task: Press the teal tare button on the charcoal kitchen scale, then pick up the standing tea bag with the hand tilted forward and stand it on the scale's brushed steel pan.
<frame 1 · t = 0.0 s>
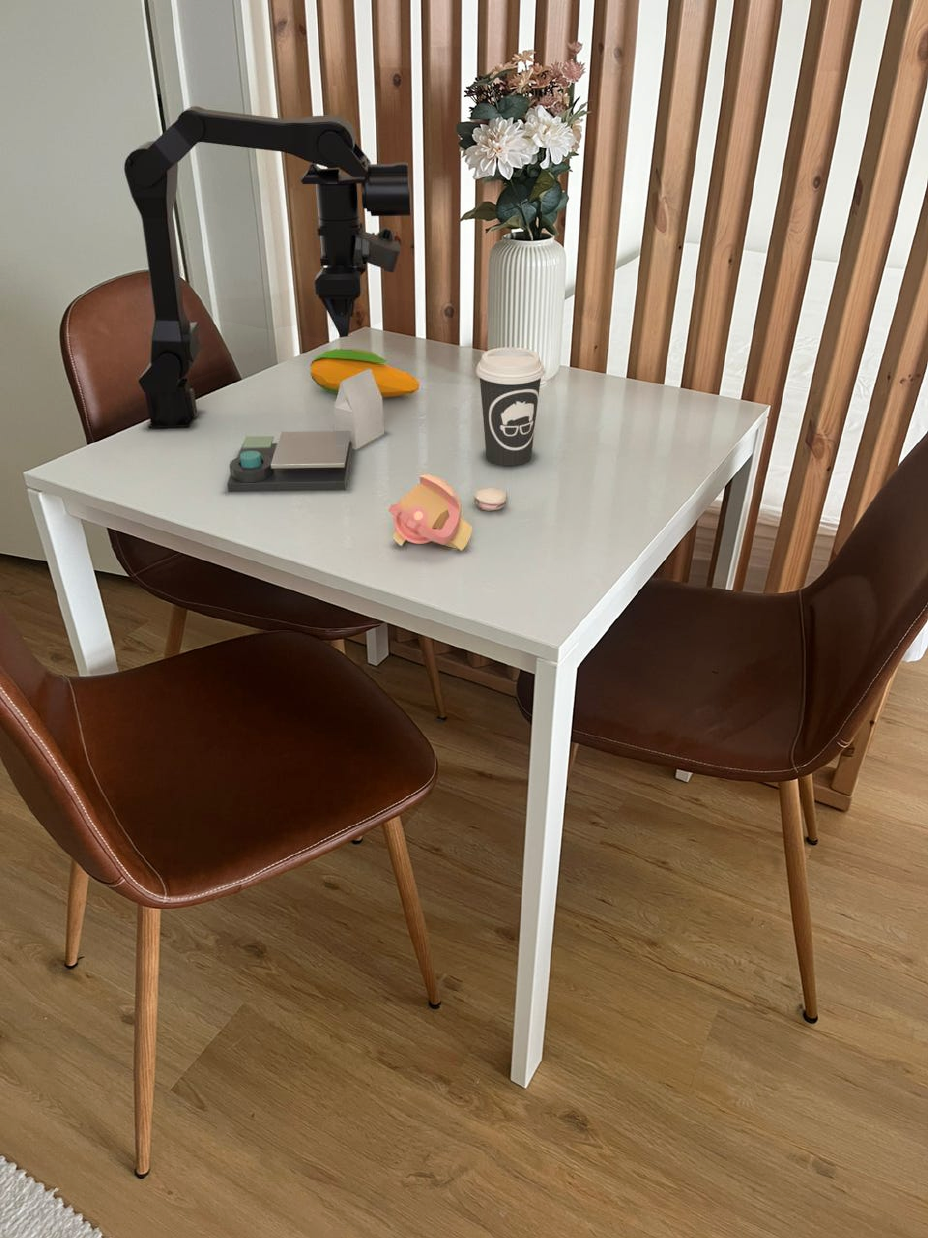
hand: (346, 326, 150), 15 cm above the table, tool pointing down, fingers open, 9 cm apart
scale: (292, 470, 143), on the table
mat: (348, 371, 176), on the table
tea bag: (360, 440, 152), on the table
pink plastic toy: (432, 545, 125), on the table
macaroon: (492, 507, 134), on the table
coffee cup: (508, 458, 146), on the table
scale pan: (311, 451, 141), resting on scale
scale display: (258, 442, 144), resting on scale
corn: (367, 397, 166), on the table
tare button: (250, 459, 138), point 3 cm above the table, slide at 0.1 cm
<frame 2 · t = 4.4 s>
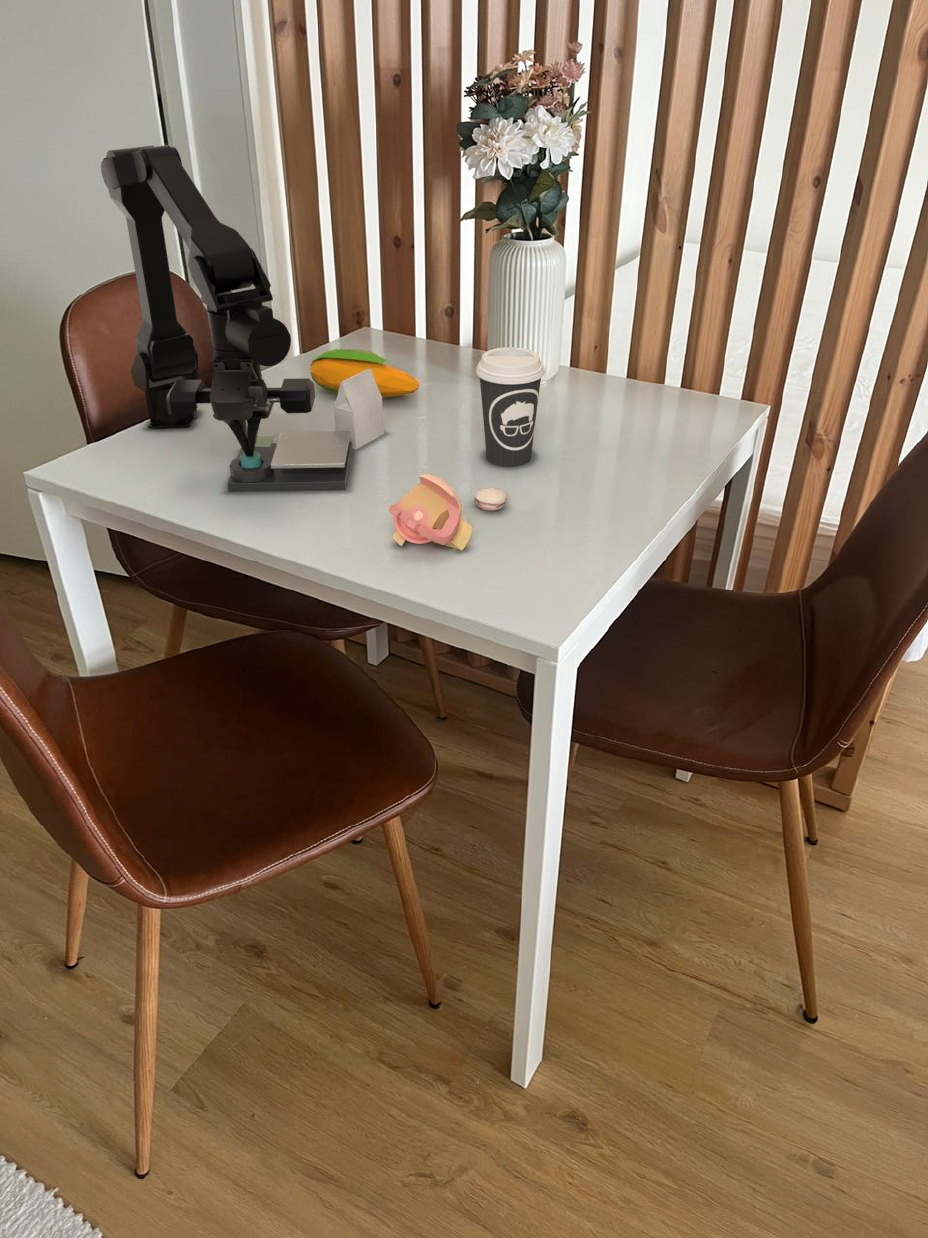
hand: (250, 455, 138), 4 cm above the table, tool pointing down, fingers closed, pressing on tare button
tare button: (250, 460, 138), point 3 cm above the table, slide at 0.0 cm, touching gripper
everything else where it was.
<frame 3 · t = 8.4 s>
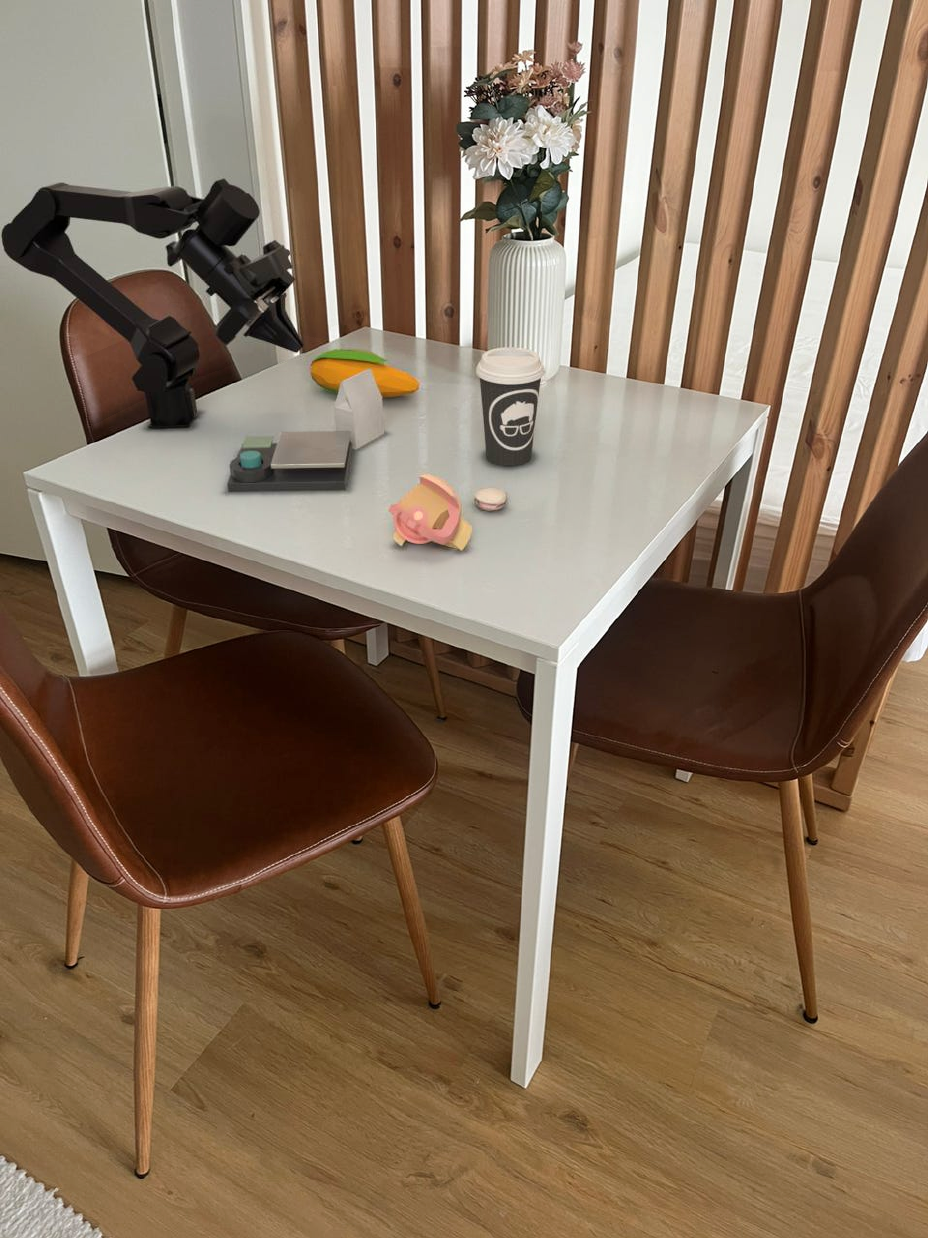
hand: (300, 349, 145), 13 cm above the table, tool tilted 45°, fingers closed
tare button: (250, 459, 138), point 3 cm above the table, slide at 0.1 cm
everything else where it was.
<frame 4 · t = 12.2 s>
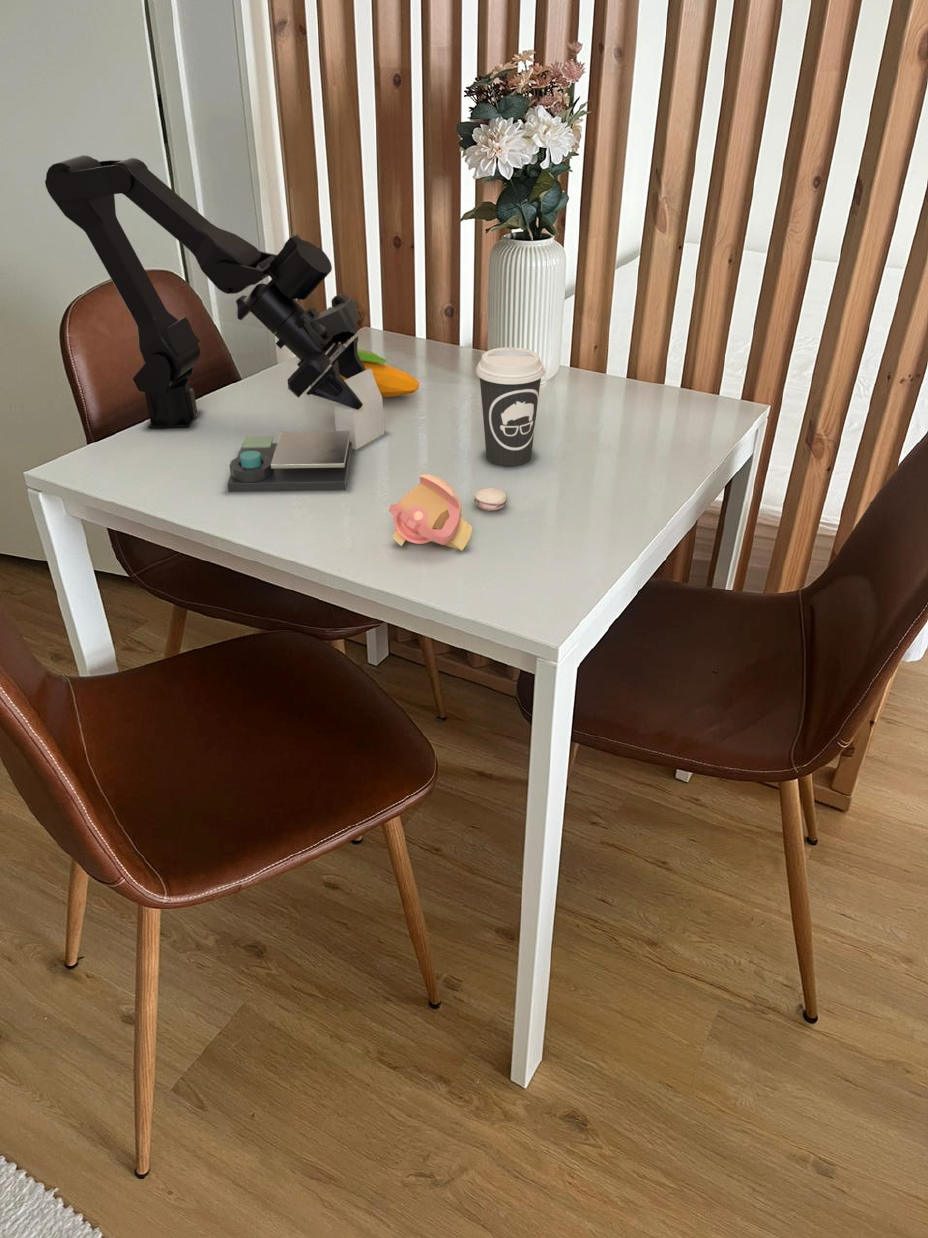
hand: (367, 398, 148), 7 cm above the table, tool tilted 45°, fingers closed on tea bag, 7 cm apart
tea bag: (360, 440, 152), on the table, touching gripper
everything else where it was.
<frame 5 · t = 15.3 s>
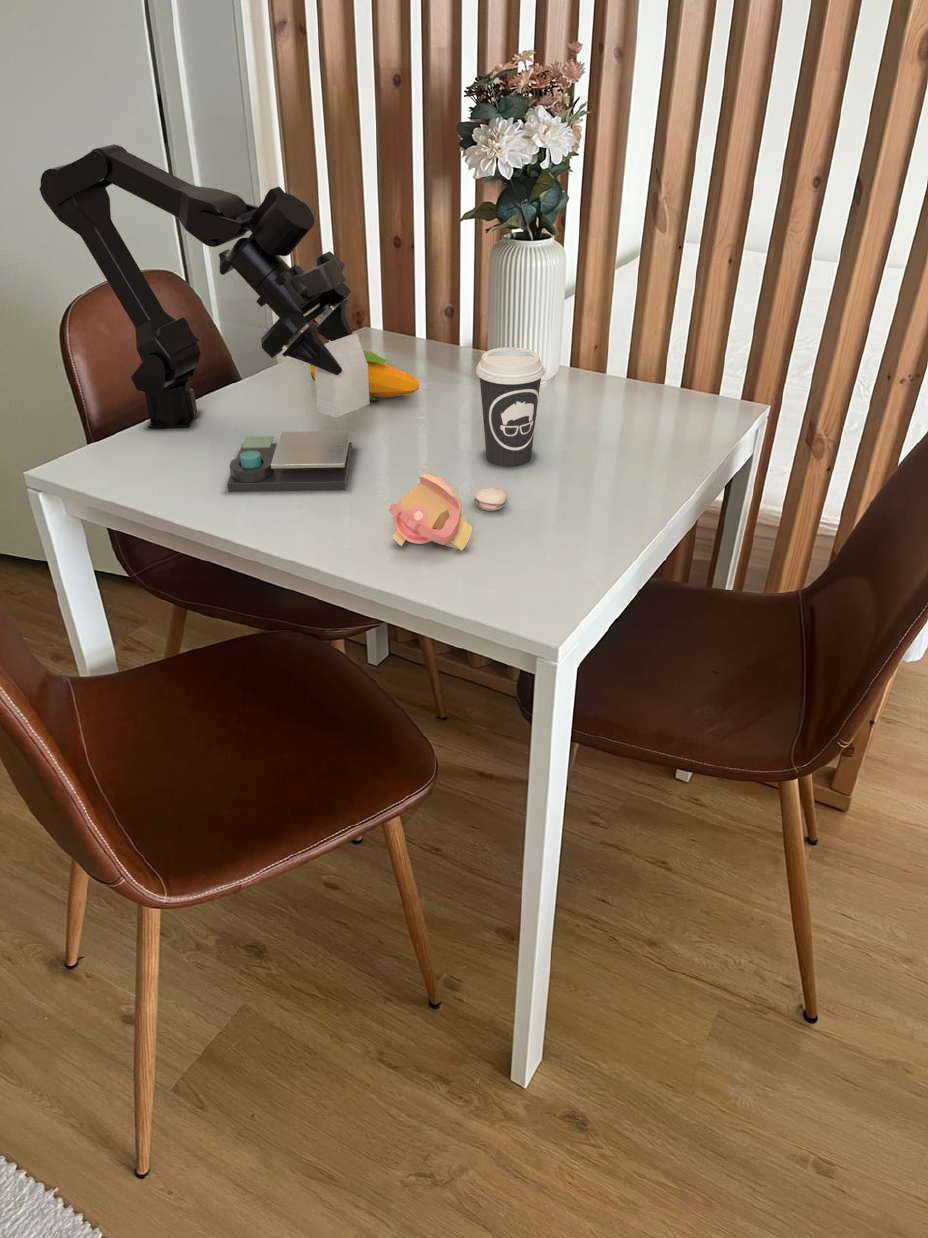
hand: (349, 364, 141), 13 cm above the table, tool tilted 45°, fingers closed on tea bag, 7 cm apart
tea bag: (344, 408, 145), point 6 cm above the table, touching gripper
everything else where it was.
when the fingers open (10 cm above the table, at t = 18.4 s): tea bag stays where it is, resting on scale pan.
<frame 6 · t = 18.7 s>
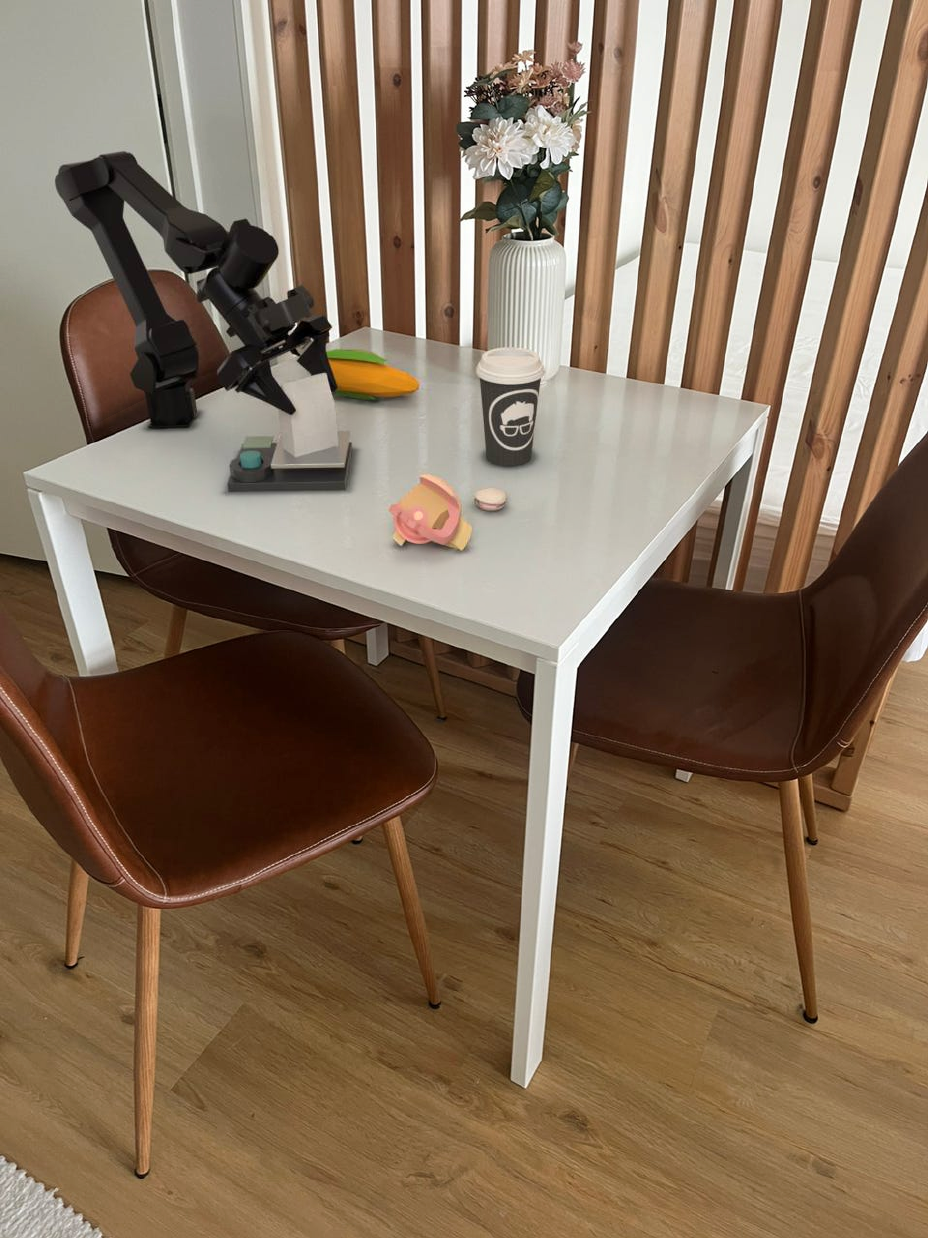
hand: (315, 401, 136), 11 cm above the table, tool tilted 45°, fingers open, 9 cm apart
tea bag: (311, 448, 141), point 3 cm above the table, touching scale pan
everything else where it was.
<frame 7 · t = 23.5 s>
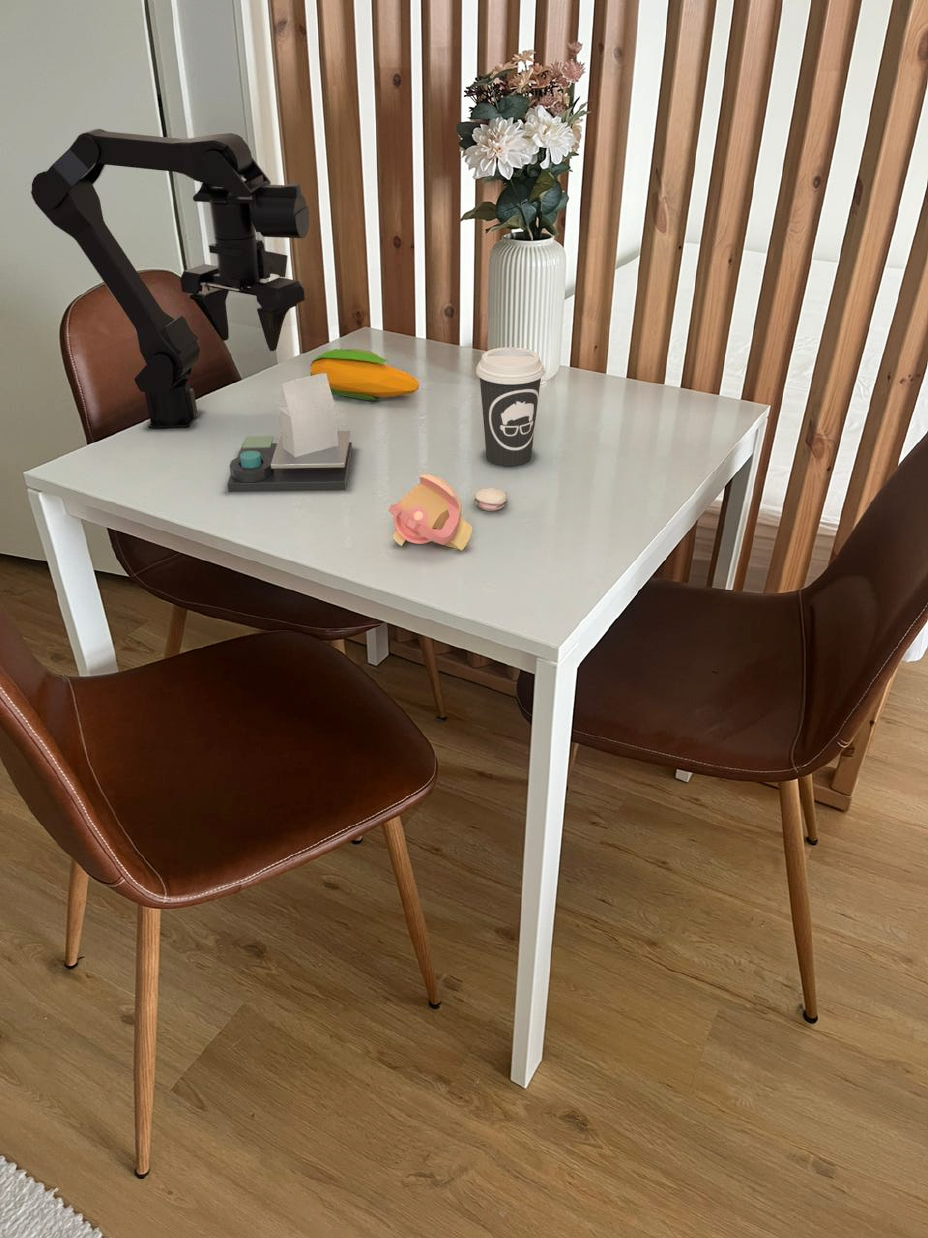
hand: (249, 345, 148), 13 cm above the table, tool pointing down, fingers open, 9 cm apart
nothing on the table moved.
at the end: tare button pushed in 0.9 cm at the most during the clip, back to where it started at the end; tea bag inside the target area on the scale pan (0.1 cm from its centre), point 0.4 cm above the scale pan's base; tea bag tilted 0° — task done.
